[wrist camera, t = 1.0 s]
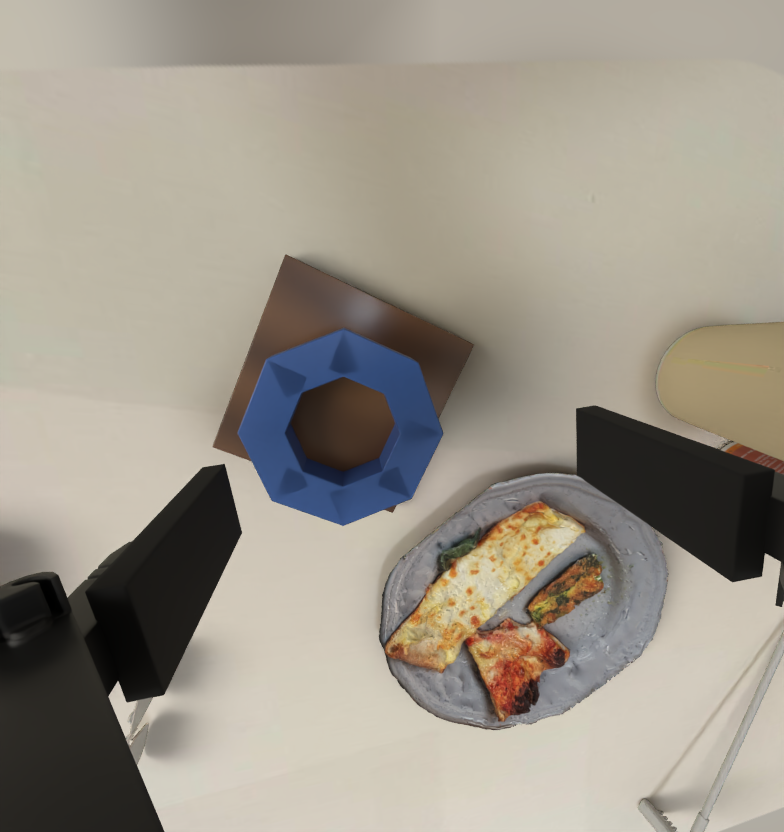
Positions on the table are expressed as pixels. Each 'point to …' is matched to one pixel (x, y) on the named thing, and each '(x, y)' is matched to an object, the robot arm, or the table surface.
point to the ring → (317, 483)
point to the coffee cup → (728, 383)
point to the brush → (701, 821)
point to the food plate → (523, 602)
